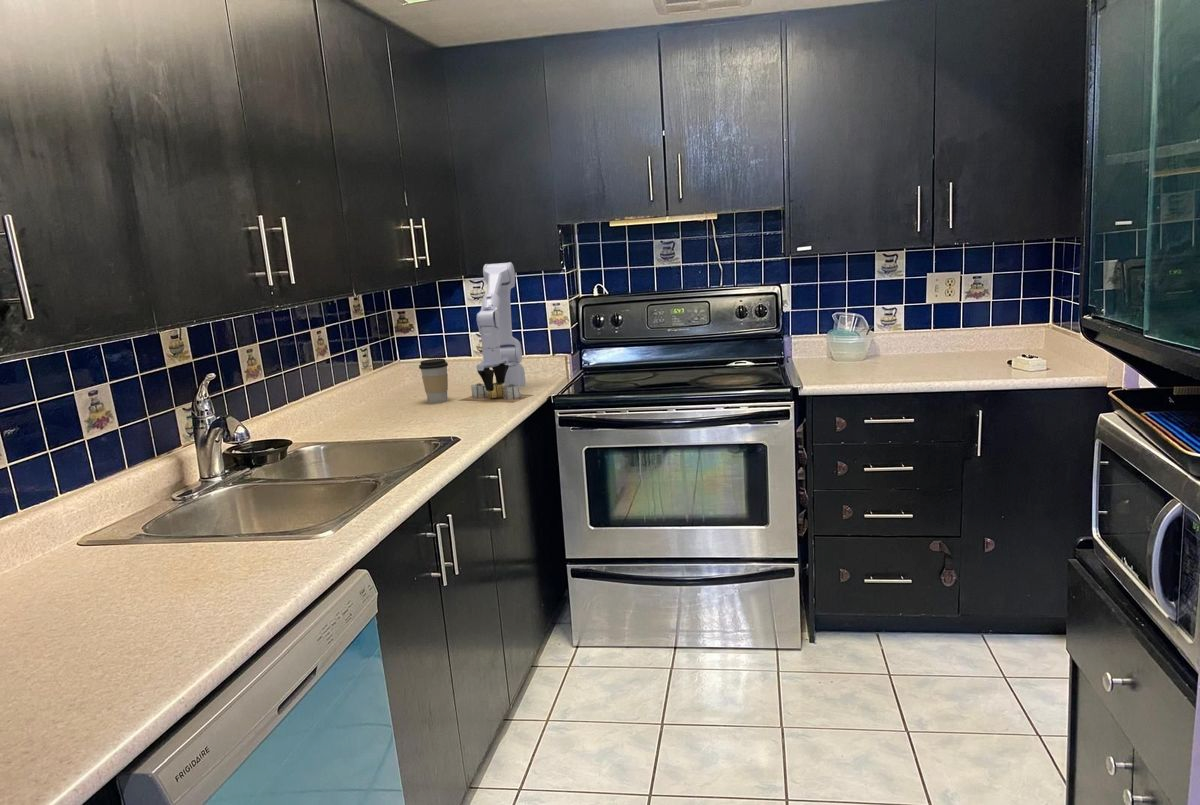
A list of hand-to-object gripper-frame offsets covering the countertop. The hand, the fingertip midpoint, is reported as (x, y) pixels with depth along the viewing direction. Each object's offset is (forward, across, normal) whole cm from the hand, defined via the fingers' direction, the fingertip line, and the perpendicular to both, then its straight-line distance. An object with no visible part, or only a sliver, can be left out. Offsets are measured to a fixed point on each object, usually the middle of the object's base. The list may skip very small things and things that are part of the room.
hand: (495, 388), depth 265 cm
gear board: (+4, 0, 0) cm, 4 cm away
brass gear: (+2, 0, 0) cm, 2 cm away
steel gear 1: (+3, 0, -6) cm, 7 cm away
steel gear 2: (+3, 0, +6) cm, 7 cm away
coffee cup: (+5, +8, -18) cm, 20 cm away
